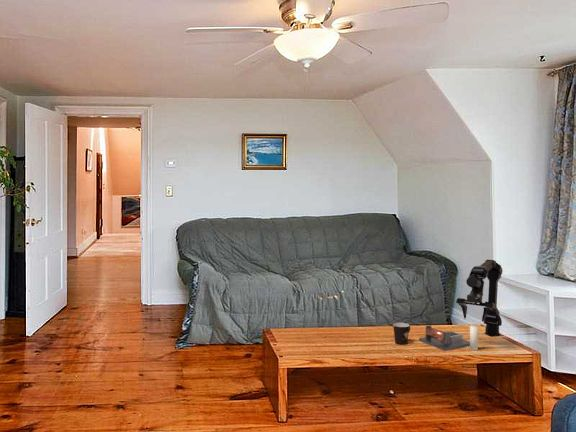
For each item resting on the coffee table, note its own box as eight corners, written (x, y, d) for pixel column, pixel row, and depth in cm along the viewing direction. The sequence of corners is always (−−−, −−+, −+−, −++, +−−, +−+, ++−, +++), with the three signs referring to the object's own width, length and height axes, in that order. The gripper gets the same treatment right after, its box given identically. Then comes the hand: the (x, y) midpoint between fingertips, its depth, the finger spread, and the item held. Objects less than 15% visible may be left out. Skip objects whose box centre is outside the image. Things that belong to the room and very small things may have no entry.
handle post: (471, 347, 273) (471, 325, 272) (478, 349, 271) (479, 326, 270) (468, 349, 270) (468, 326, 269) (476, 350, 267) (476, 327, 267)
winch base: (446, 336, 295) (446, 321, 294) (473, 345, 277) (473, 329, 276) (418, 340, 286) (419, 325, 285) (444, 350, 268) (445, 334, 267)
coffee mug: (397, 346, 276) (397, 327, 276) (390, 341, 284) (390, 323, 284) (417, 344, 279) (417, 325, 279) (409, 339, 287) (409, 322, 287)
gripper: (454, 285, 273) (450, 315, 270) (491, 289, 262) (487, 320, 259) (461, 289, 282) (457, 318, 279) (497, 293, 270) (493, 323, 267)
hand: (473, 320), depth 271 cm, fingers open, 9 cm apart
